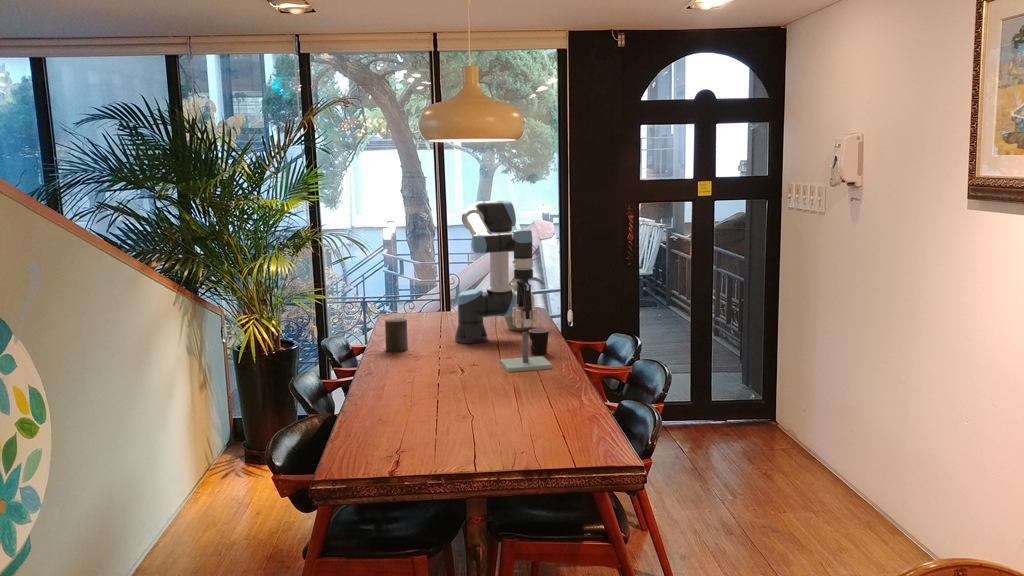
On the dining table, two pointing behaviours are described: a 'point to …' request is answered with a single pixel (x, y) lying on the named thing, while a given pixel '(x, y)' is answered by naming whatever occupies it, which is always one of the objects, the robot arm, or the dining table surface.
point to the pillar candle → (396, 334)
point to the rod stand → (525, 360)
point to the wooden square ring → (519, 317)
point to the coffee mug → (538, 341)
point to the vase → (510, 317)
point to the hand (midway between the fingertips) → (524, 324)
